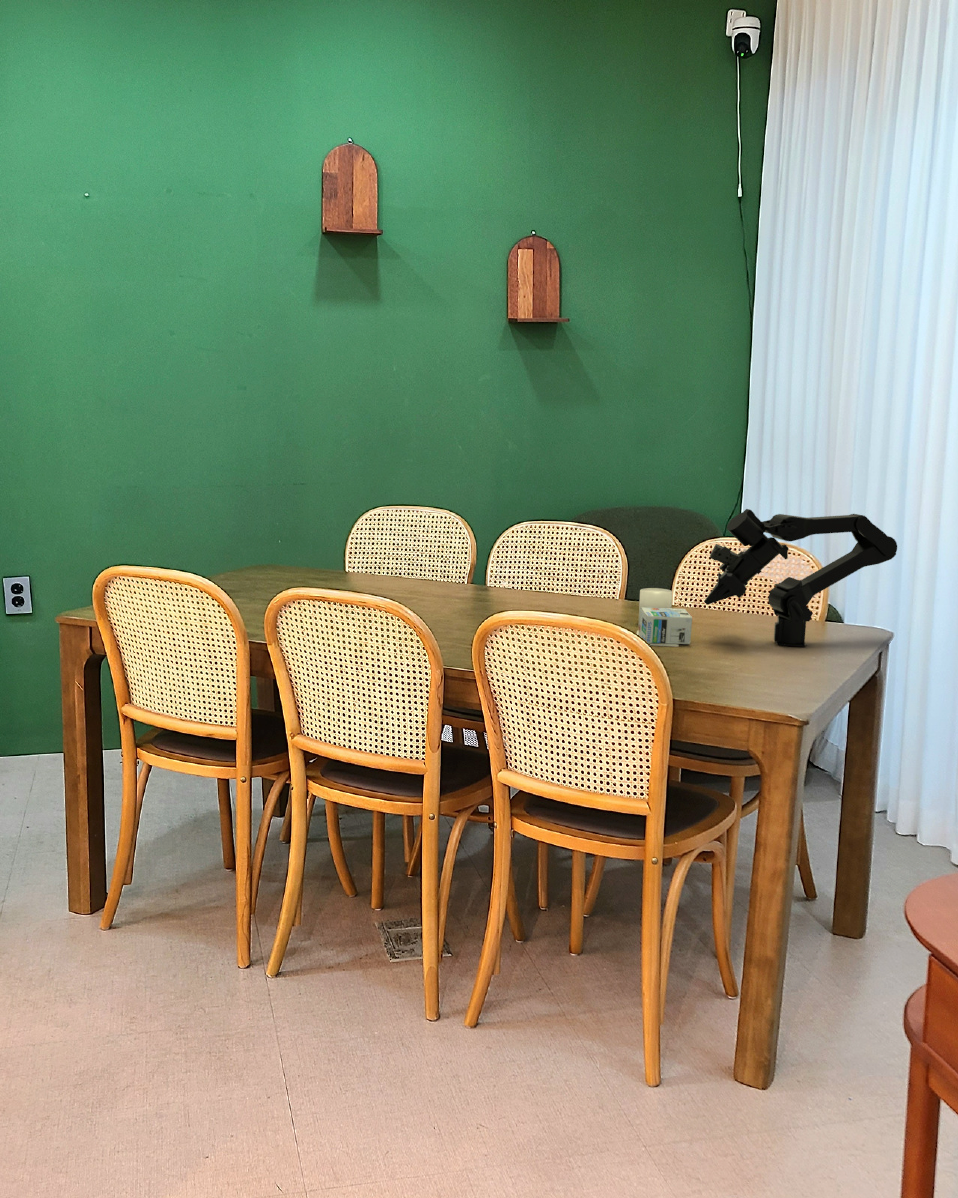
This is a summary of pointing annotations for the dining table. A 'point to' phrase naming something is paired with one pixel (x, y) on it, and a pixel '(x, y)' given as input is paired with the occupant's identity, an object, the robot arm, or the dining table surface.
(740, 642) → the dining table surface
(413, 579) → the dining table surface
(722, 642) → the dining table surface
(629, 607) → the dining table surface
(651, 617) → the light bulb box
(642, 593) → the cream rounded cylinder
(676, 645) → the mat
